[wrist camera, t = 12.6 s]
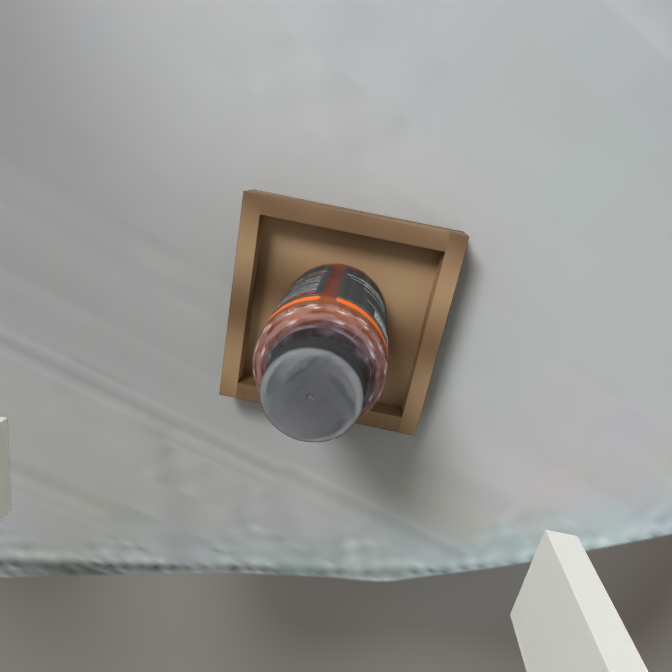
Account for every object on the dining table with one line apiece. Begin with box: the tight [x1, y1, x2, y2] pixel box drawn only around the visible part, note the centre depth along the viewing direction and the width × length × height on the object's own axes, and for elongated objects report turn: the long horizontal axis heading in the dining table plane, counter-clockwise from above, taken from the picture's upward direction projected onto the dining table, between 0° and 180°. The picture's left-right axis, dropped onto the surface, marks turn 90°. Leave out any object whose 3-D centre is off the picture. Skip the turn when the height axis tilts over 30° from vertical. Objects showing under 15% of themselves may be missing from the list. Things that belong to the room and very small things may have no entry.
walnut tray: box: [219, 190, 469, 435], centre depth 29 cm, size 12×12×2 cm
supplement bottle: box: [253, 263, 388, 442], centre depth 24 cm, size 6×6×11 cm
